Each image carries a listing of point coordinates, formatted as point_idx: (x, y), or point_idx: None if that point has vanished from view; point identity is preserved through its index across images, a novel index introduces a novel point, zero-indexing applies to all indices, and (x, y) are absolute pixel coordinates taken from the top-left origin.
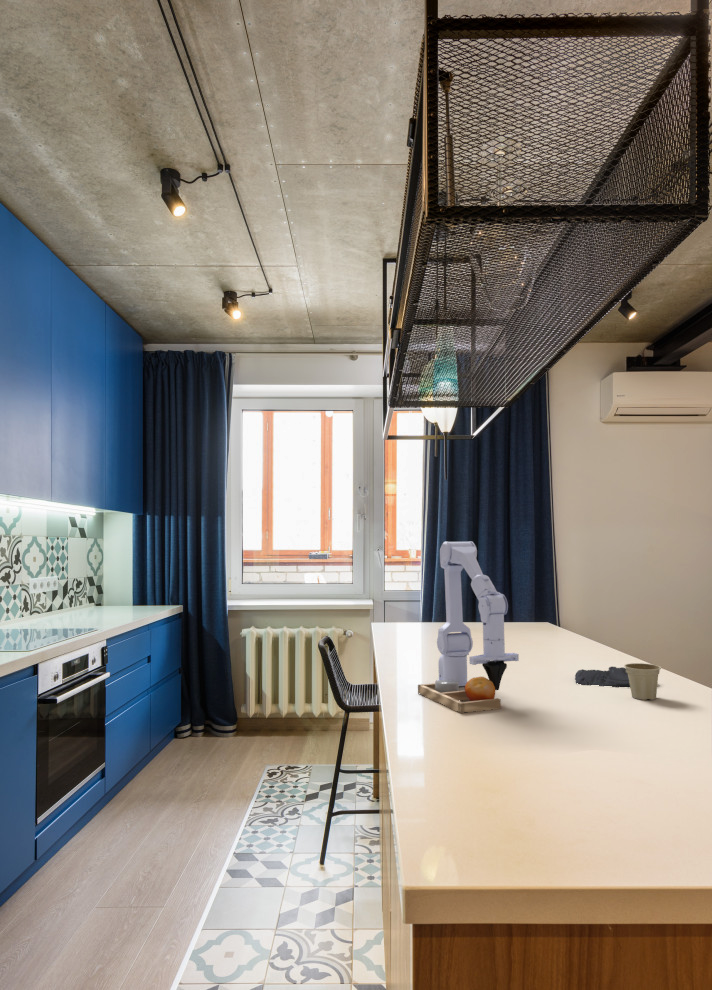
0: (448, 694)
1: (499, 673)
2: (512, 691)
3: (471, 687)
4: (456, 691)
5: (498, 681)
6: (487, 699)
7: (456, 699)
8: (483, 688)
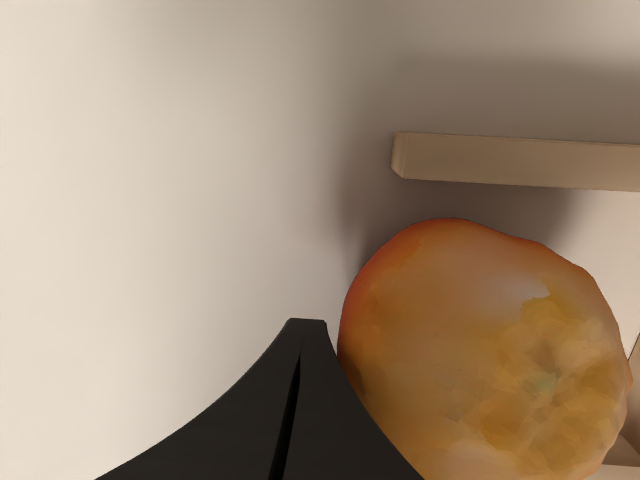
0: None
1: (271, 421)
2: (70, 440)
3: (624, 363)
4: None
5: (292, 356)
6: (517, 183)
7: None
8: (546, 283)
